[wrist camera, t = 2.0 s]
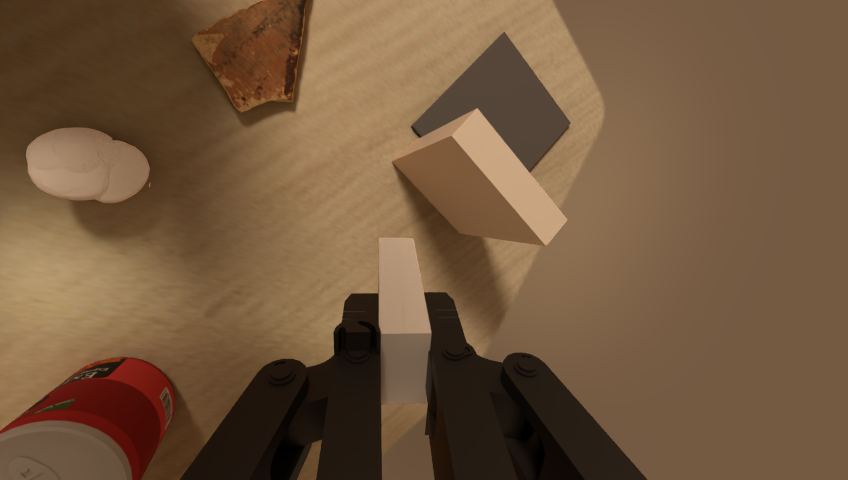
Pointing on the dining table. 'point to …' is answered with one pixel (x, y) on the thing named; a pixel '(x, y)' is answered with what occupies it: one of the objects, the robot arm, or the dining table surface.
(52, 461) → the canned food
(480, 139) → the glazed tile
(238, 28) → the shard
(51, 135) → the dumpling
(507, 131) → the rubber mat
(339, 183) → the dining table surface
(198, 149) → the dining table surface
